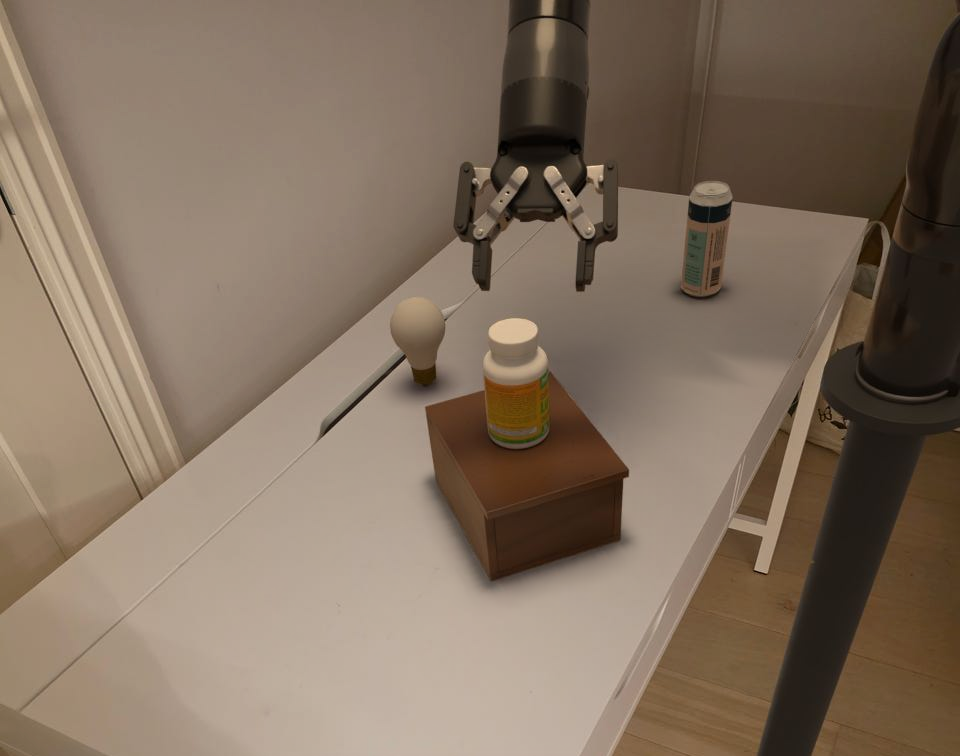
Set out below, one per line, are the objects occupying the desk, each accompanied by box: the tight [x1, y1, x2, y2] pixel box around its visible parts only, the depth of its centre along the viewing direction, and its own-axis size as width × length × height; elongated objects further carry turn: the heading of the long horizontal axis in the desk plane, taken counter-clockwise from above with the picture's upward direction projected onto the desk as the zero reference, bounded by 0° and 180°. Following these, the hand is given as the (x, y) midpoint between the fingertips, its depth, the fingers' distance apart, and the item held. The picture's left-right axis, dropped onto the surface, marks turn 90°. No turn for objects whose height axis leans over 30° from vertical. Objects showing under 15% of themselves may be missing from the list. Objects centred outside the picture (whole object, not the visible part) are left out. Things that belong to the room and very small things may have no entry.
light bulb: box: [389, 296, 446, 387], centre depth 95 cm, size 6×6×10 cm
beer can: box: [680, 180, 733, 298], centre depth 103 cm, size 5×5×12 cm
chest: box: [425, 413, 625, 582], centre depth 80 cm, size 16×13×8 cm
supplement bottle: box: [482, 317, 549, 449], centre depth 73 cm, size 5×5×10 cm
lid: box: [424, 371, 630, 520], centre depth 77 cm, size 16×13×1 cm
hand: (531, 288), depth 77 cm, fingers open, 8 cm apart
